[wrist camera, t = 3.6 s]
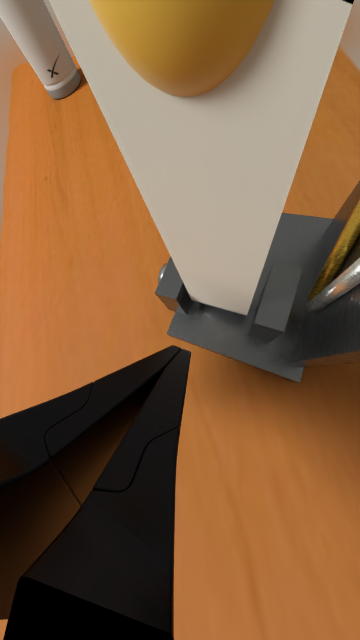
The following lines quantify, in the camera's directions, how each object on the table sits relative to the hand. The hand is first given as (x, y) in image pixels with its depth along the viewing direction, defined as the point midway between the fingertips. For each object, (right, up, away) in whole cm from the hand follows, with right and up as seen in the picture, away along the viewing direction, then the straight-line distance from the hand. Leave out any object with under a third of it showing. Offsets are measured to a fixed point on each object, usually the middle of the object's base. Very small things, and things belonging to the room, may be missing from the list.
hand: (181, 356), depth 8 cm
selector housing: (+5, +5, +8) cm, 11 cm away
